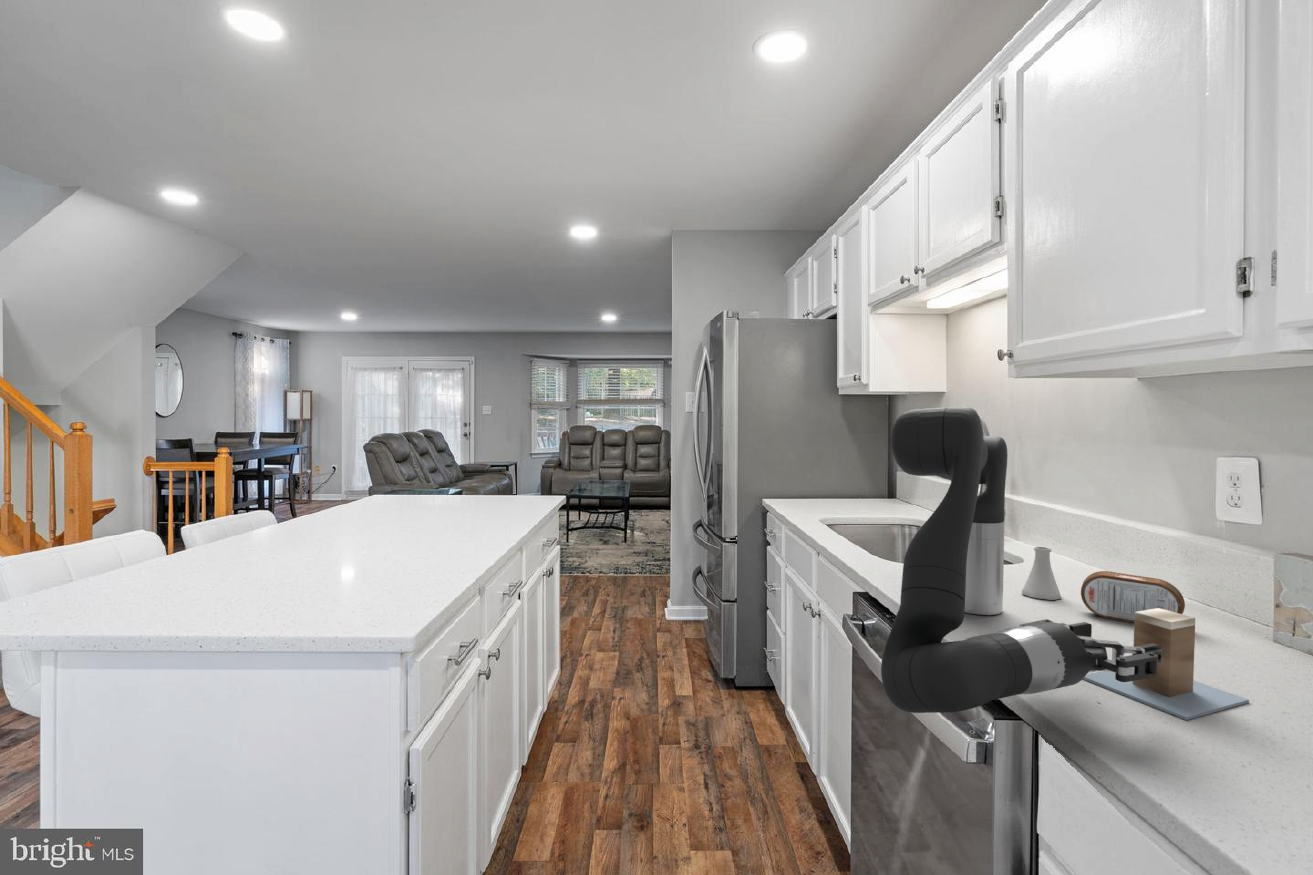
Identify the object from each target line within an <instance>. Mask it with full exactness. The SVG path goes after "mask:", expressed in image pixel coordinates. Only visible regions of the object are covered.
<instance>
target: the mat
mask: <svg viewBox="0 0 1313 875" xmlns="http://www.w3.org/2000/svg"><path fill="white" fill-rule="evenodd" d="M1082 680H1085V681H1086V682H1089V683H1090V684H1091V683H1092V684H1094V685H1096V686H1099V687H1101V688H1104V689H1107V690H1109V691H1112V692H1114V693H1116V694H1118V695H1119V694H1120V695H1121V696H1125V697H1127V698H1129V699H1132V700H1135V701H1137V702H1139V703H1142V704H1144V705H1146V706H1150V707H1152V708H1154V709H1157V710H1159V711H1162V712H1164V713H1167V714H1169V715H1172V714H1173V716H1174V715H1175V717H1177V718H1179V719H1182V720H1185V721H1189V720H1193V719H1196V718H1199V717H1203V716H1207V715H1210V714H1213V713H1217V712H1220V711H1225V710H1227V709H1230V708H1232V709H1233V708H1235V707H1238V706H1241V705H1245V704H1248V703H1249V704H1250V699H1248V698H1246V697H1243V696H1240V695H1238V694H1235V693H1231V692H1229V691H1225V690H1222V689H1220V688H1217V687H1215V686H1214V687H1213V686H1211V685H1208V684H1205V683H1202V682H1199V681H1198V680H1197V681H1196V680H1194V679H1193V692H1189V693H1185V694H1181V695H1177V696H1173V697H1166V696H1164V695H1161V694H1158V693H1156V692H1153V691H1150V690H1148V689H1145V688H1143V687H1140V686H1137V685H1135V684H1132V682H1133V681H1130V682H1120V681H1117V680H1116V679H1115V672H1111V671H1096V672H1093V673H1089V674H1088V673H1087V674H1086V676H1085V677H1084V678H1083V679H1082Z"/></svg>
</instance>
